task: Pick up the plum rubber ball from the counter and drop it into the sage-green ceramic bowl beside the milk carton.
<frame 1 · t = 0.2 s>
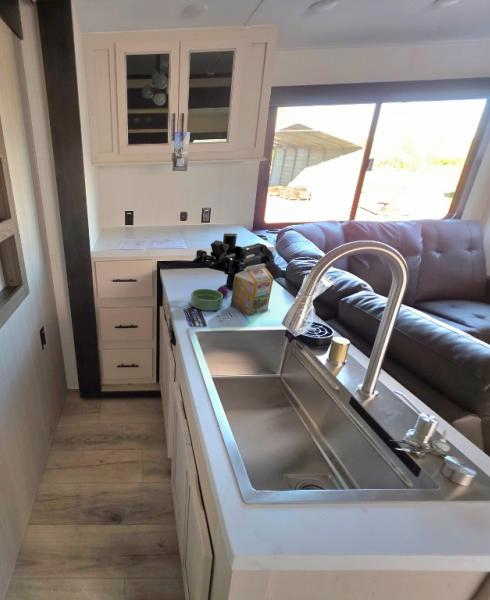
hand: (200, 264, 136), 16 cm above the counter, tool horizontal, fingers open, 9 cm apart
ball: (222, 291, 144), point 2 cm above the counter
bowl: (206, 305, 137), on the counter
milk carton: (248, 308, 134), on the counter
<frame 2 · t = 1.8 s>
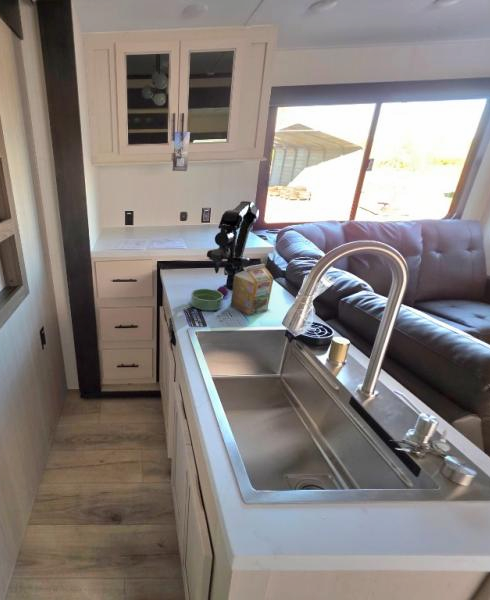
hand: (224, 275, 141), 10 cm above the counter, tool pointing down, fingers open, 9 cm apart
nothing on the counter moved.
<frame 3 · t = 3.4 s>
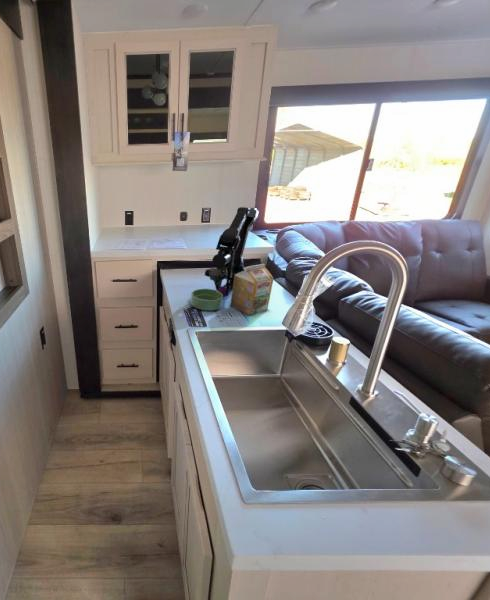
hand: (222, 294, 145), 1 cm above the counter, tool pointing down, fingers closed on ball, 5 cm apart
ball: (222, 291, 144), point 2 cm above the counter, touching gripper
everything else where it was.
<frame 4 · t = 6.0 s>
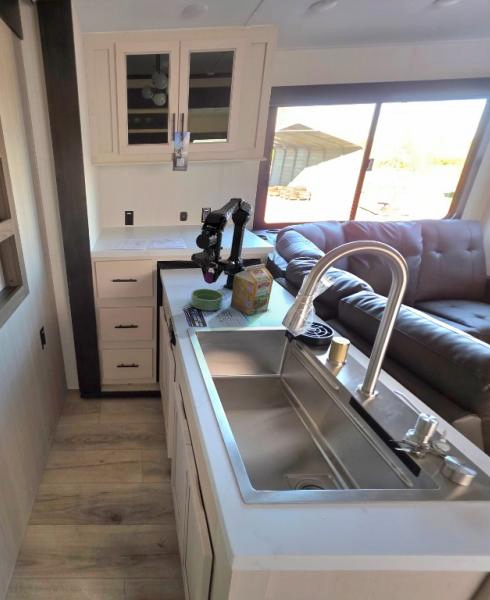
hand: (209, 280, 133), 11 cm above the counter, tool pointing down, fingers closed on ball, 5 cm apart
ball: (210, 277, 132), point 12 cm above the counter, touching gripper
everything else where it was.
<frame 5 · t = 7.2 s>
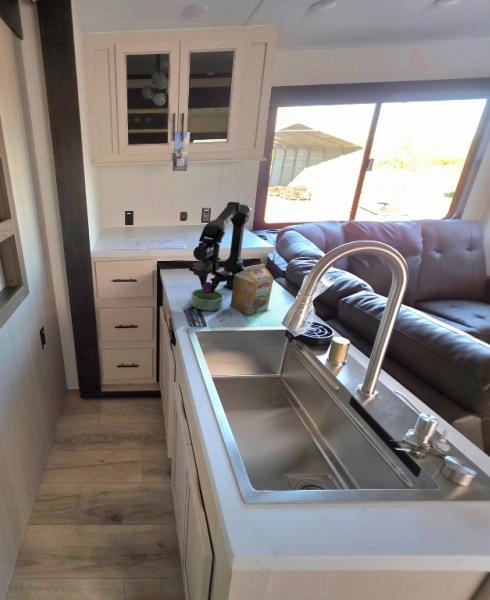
hand: (207, 290, 134), 7 cm above the counter, tool pointing down, fingers closed on ball, 5 cm apart
ball: (207, 287, 134), point 8 cm above the counter, touching gripper
everything else where it was.
when the fingers open (4 cm above the counter, at t = 8.4 s): ball drops 2 cm, resting on bowl.
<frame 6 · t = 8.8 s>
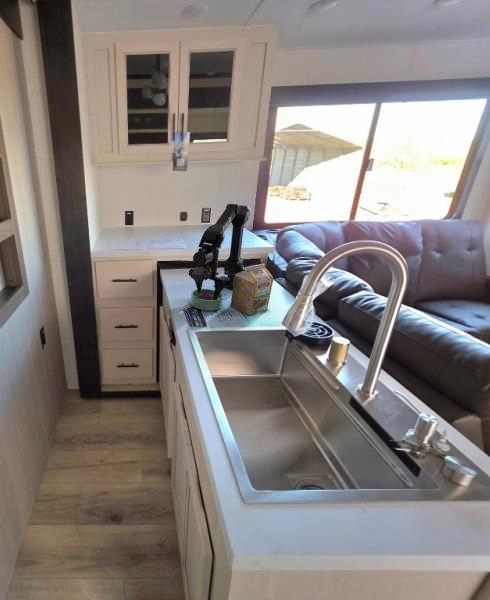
hand: (207, 295, 135), 5 cm above the counter, tool pointing down, fingers open, 9 cm apart
ball: (206, 298, 136), point 3 cm above the counter, touching bowl
everything else where it was.
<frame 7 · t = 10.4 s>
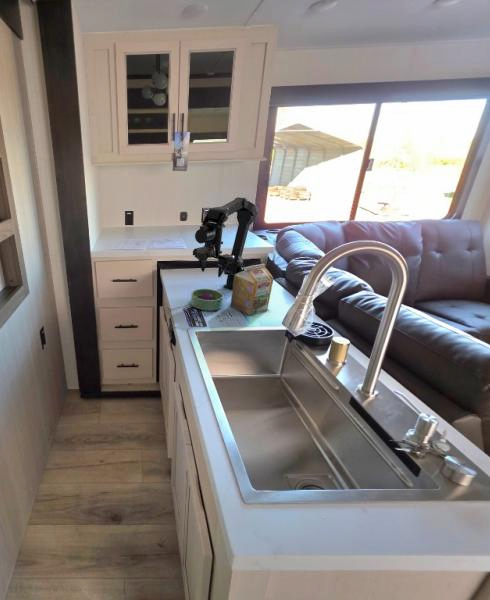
hand: (210, 274, 139), 12 cm above the counter, tool pointing down, fingers open, 9 cm apart
nothing on the counter moved.
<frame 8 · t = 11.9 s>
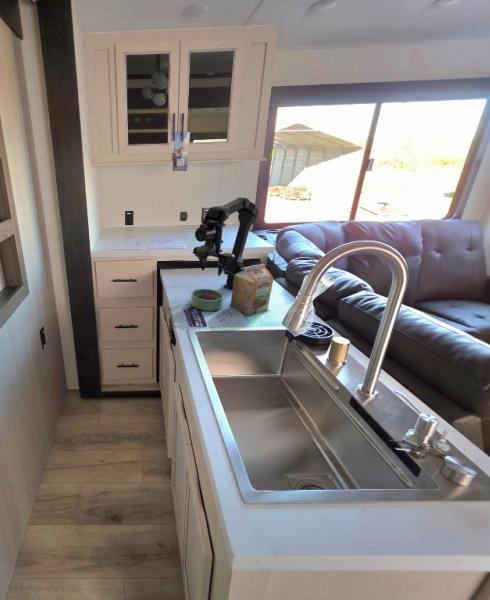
hand: (210, 272, 139), 12 cm above the counter, tool pointing down, fingers open, 9 cm apart
nothing on the counter moved.
at the end: ball inside the target area in the bowl (0.1 cm from its centre), point 3.0 cm above the bowl's base; the gripper is holding nothing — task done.
